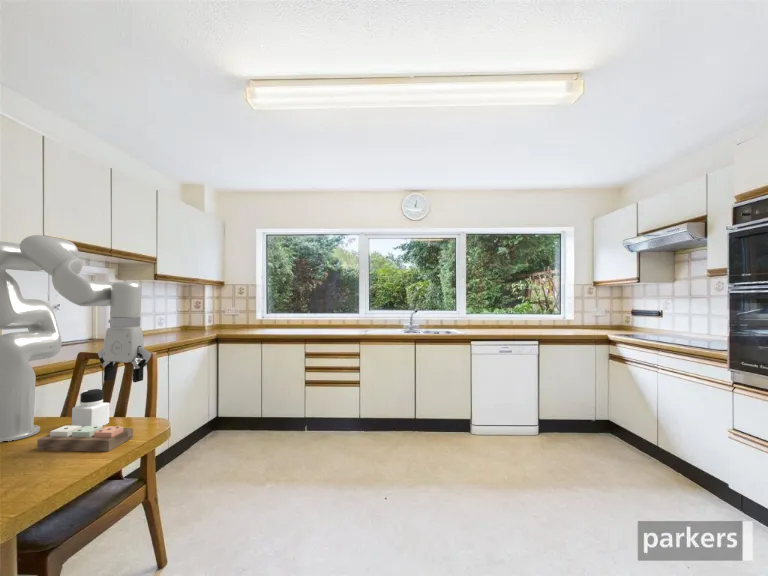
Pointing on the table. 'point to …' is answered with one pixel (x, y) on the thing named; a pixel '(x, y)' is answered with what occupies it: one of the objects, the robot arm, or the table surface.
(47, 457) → the table surface
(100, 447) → the button board
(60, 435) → the button one cream
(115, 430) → the button three terracotta
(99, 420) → the medicine bottle
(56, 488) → the table surface
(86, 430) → the button two sage
